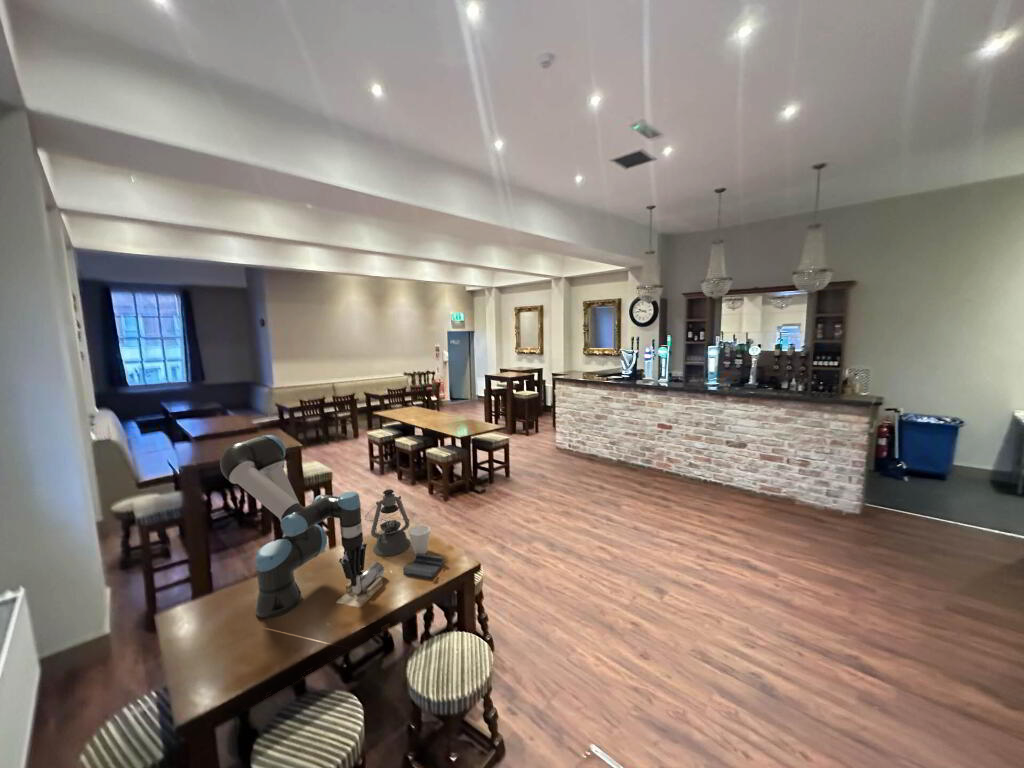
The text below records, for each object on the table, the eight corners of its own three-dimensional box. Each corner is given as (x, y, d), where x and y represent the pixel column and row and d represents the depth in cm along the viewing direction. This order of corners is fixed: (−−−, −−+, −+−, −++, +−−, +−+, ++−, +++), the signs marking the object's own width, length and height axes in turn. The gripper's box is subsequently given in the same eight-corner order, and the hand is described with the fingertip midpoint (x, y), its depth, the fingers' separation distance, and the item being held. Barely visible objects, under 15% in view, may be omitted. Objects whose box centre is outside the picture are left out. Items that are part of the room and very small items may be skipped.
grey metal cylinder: (353, 592, 158) (352, 578, 157) (372, 574, 169) (371, 561, 168) (366, 595, 156) (365, 580, 155) (384, 576, 168) (383, 563, 167)
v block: (403, 575, 169) (403, 567, 169) (417, 560, 180) (417, 553, 179) (431, 580, 165) (431, 572, 165) (444, 564, 176) (443, 557, 176)
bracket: (335, 603, 152) (334, 595, 152) (359, 581, 166) (358, 573, 165) (360, 608, 149) (359, 600, 149) (382, 585, 162) (382, 577, 162)
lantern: (393, 531, 206) (389, 475, 202) (419, 543, 194) (416, 483, 190) (362, 547, 192) (357, 487, 188) (388, 560, 180) (383, 497, 176)
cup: (426, 559, 181) (425, 536, 179) (405, 557, 183) (404, 534, 181) (434, 547, 190) (433, 525, 189) (415, 545, 192) (413, 523, 191)
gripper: (348, 543, 145) (353, 604, 148) (371, 526, 157) (375, 583, 160) (331, 541, 147) (336, 600, 150) (355, 524, 159) (359, 580, 162)
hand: (356, 591), depth 155 cm, fingers closed
